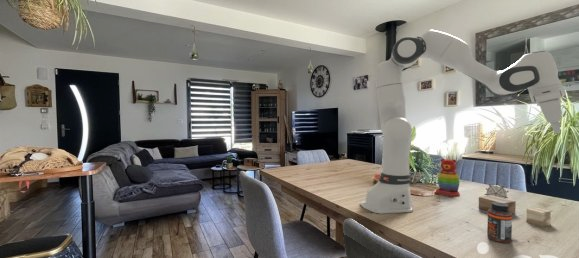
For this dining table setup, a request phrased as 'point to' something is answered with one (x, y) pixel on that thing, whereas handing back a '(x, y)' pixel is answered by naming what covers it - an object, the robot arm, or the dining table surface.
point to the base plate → (487, 212)
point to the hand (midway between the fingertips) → (556, 131)
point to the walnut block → (486, 201)
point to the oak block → (538, 216)
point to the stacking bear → (448, 179)
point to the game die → (496, 191)
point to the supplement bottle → (499, 223)
